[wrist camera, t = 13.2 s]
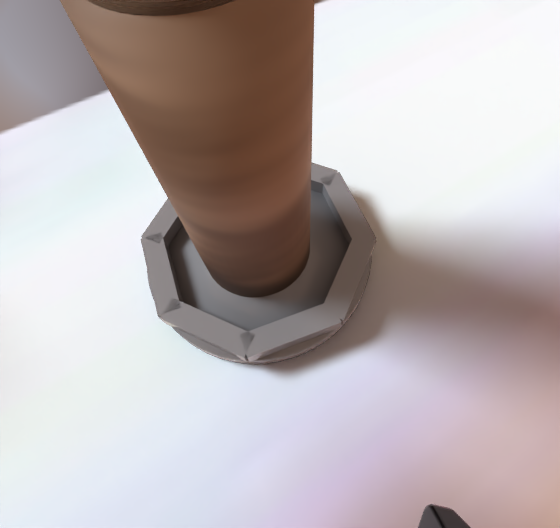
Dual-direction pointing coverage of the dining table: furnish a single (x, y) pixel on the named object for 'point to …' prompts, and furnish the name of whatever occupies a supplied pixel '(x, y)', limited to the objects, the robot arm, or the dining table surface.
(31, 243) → the dining table surface
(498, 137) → the dining table surface
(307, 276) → the slate saucer
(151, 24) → the brown metal-capped cylinder
